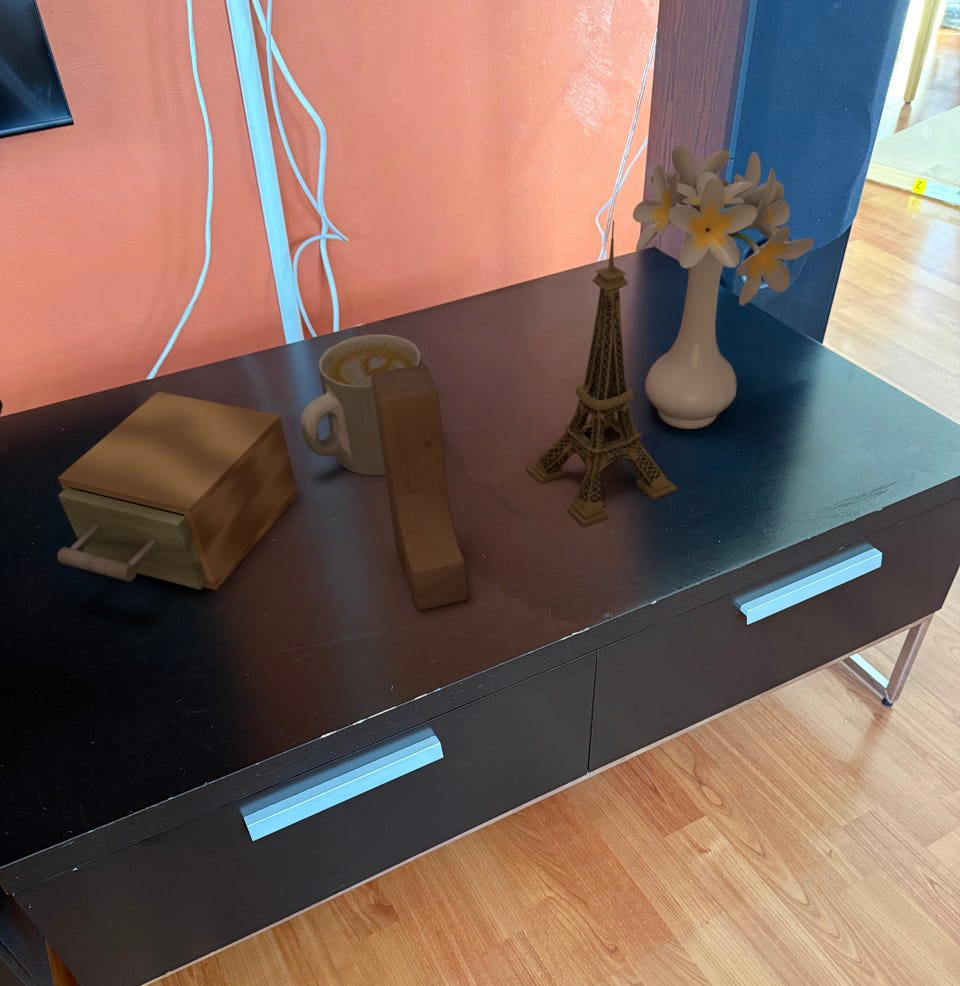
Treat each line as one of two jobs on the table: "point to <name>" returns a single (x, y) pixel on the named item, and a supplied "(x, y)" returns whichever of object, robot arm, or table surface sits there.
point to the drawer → (130, 540)
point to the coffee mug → (354, 399)
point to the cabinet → (197, 472)
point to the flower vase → (711, 273)
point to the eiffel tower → (602, 413)
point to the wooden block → (418, 485)
